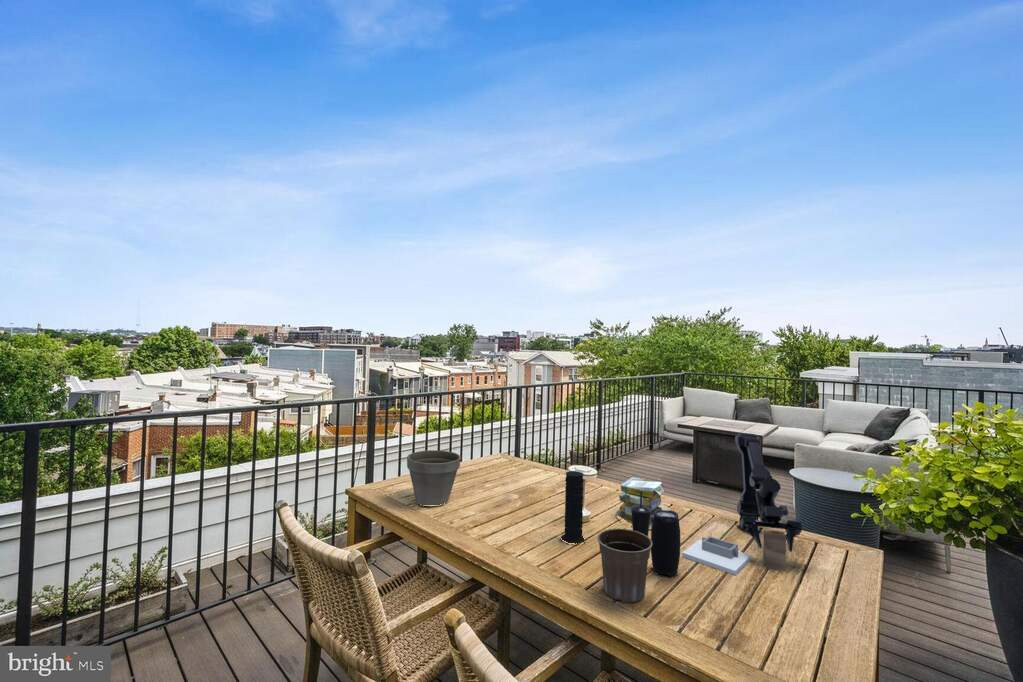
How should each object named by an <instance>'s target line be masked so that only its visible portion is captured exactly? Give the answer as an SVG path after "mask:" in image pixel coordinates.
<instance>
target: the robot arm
mask: <svg viewBox="0 0 1023 682" xmlns="http://www.w3.org/2000/svg"><path fill="white" fill-rule="evenodd" d="M760 439H761V438H760V437H759V436H757V435H756V434H755V433H743V432H742V433H741V432H739V433H738V434H737V435H735V437H734V441H735V444H736V449H737V450H738V452H739V453H740V454H741V465H742V466H741V467H742V482H743V483H742V484H743V491H742V493H741V494H740V495H739V500H738V502H737V505H736V512H737V514H738V515H739V525H737V528H738V529H740V530H741V531H744V532H746V533H747V534H749V535H750V536H751V537H752V538H753V540H754V541H755V543H756V545H757V546H758V547H759V549H762V548H763V545H762V541H761V537H760V533H761V532H762V529H759V527H761V528H762V527H763V528H772V529H780V530H784V531H785V532H786V533H785V535H786V544H787V547H788V551H789V552H790V553H792V551H793V547H794V546H793V545H794V538H795V537H797V536H799V535H800V534H801V533H802V531H803V530H804V525H803V523H802V522H801V521H800V520H794V519H788V520H787V521H786V523H784V522H780V521H782V518H784V517H783V516H788V515H789V509H788V506H787V505H784V504H781V505H779V506H777V505H776V502H775V499H776V498H777V496H778V494H779V492H780V490H781V484H780V482H779V481H778V480H777V479H775V478H773V475H771V472H770V471H769V470H768V469H767V468H766V467H765V462H764V459H763V456H762V455H763V454H762V451H761V444H760V443H761V440H760ZM759 518H760V519H759Z"/></svg>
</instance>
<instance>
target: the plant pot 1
mask: <svg viewBox="0 0 1023 682" xmlns="http://www.w3.org/2000/svg"><path fill="white" fill-rule="evenodd" d="M461 459H462V457H461V455H460V454H459V453H456V452H452V451H449V450H437V449H435V450H433V449H432V450H419V451H416V452H415V451H414V452H412V453H409V454H408V455H407V457H406V467H407V469H408V471H409V475H410V480H411V485H412V488H413V494H414V496H415V502H416V501H417V502H416V504H417V503H419V504H421V505H440V504H444V503H446V502H447V503H449V501H450V497H451V493H452V490H453V487H454V484H455V480H456V476H457V473H458V470H459V469H460V467H461ZM447 503H446V504H447Z"/></svg>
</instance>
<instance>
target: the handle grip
mask: <svg viewBox="0 0 1023 682" xmlns="http://www.w3.org/2000/svg"><path fill="white" fill-rule="evenodd" d="M565 475H566V476H565V483H564V484H565V486H564V487H565V491H564V492H565V495H564V498H565V499H564V502H565V503H564V506H565V508H564V533H563V534H562V535H561V536H560V537H561V538H562V540H564V541H566V542H568V543H575V544H576V543H577V544H578V543H581V542H584V541H585V540H584V538H583V536H584V535H583V522H584V521H583V519H584V517H583V516H584V513H583V511H584V510H583V508H584V505H583V504H584V484H583V483H584V472H581V471H578V470H569V471H566V472H565Z"/></svg>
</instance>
